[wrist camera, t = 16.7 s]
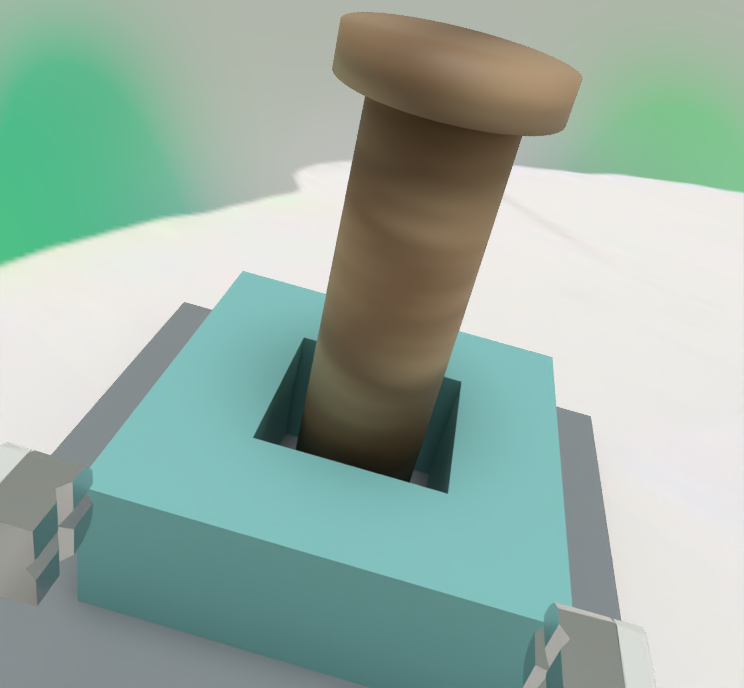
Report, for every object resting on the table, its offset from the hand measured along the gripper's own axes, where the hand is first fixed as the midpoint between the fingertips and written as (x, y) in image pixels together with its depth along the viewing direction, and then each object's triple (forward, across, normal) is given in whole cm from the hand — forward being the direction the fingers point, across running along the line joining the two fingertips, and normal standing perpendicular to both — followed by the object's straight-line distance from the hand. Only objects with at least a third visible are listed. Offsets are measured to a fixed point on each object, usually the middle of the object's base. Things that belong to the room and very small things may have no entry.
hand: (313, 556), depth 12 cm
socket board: (+12, 0, +12) cm, 16 cm away
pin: (+12, 0, +10) cm, 16 cm away
